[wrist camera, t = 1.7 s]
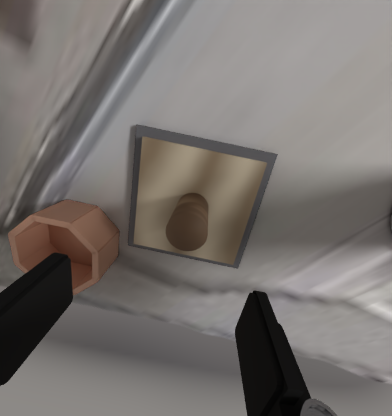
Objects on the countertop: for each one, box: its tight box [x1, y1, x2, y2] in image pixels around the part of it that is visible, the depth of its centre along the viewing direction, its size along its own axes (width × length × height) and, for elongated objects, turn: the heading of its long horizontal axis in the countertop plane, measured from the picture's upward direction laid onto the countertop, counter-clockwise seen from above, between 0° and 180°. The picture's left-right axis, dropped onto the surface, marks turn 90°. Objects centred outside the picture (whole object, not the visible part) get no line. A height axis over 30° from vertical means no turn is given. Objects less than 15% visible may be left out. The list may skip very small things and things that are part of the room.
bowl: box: [8, 199, 119, 295], centre depth 23 cm, size 10×10×5 cm
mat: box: [128, 124, 278, 268], centre depth 22 cm, size 15×15×1 cm
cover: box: [133, 137, 267, 265], centre depth 19 cm, size 13×13×7 cm
